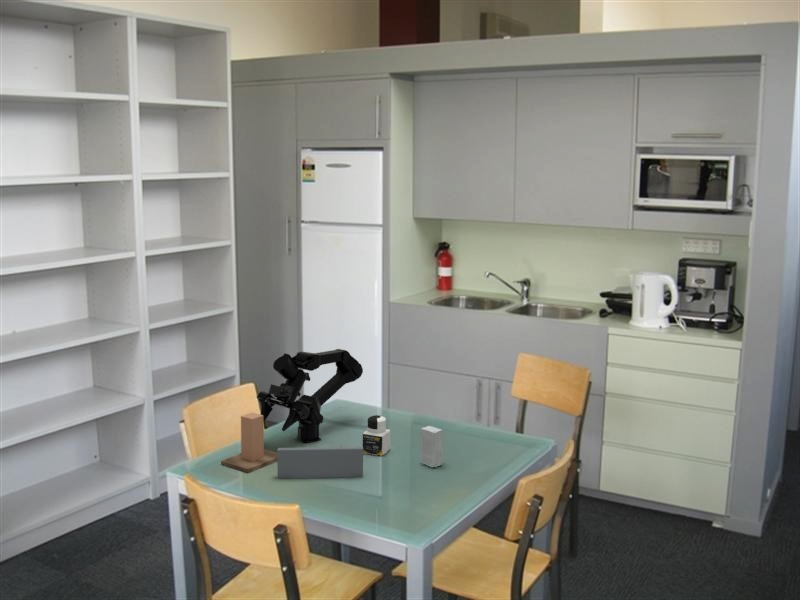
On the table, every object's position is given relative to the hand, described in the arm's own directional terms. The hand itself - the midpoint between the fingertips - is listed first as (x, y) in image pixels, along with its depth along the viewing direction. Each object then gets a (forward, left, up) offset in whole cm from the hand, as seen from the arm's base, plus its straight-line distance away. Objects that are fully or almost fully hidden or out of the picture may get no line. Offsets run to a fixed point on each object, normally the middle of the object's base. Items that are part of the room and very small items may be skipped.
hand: (271, 427), depth 276 cm
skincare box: (-40, +34, -9) cm, 53 cm away
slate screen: (-6, +23, -9) cm, 26 cm away
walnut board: (+8, +3, -9) cm, 13 cm away
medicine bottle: (-31, +15, -9) cm, 36 cm away
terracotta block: (+8, +3, -8) cm, 12 cm away
